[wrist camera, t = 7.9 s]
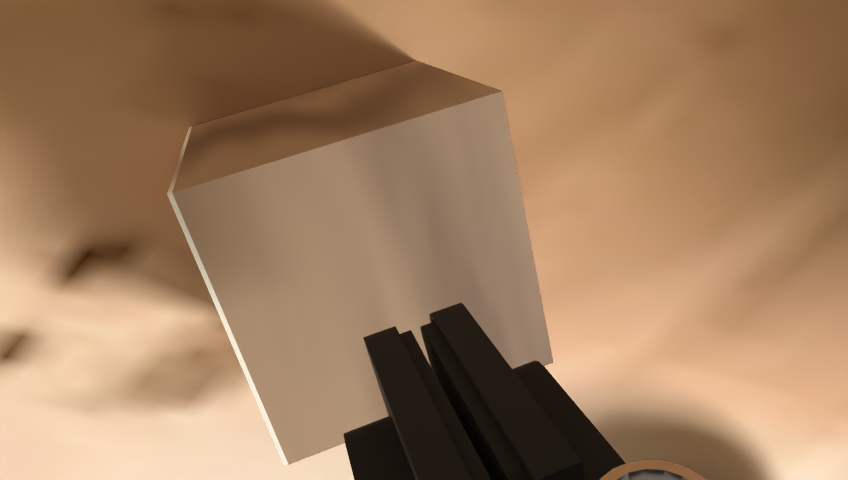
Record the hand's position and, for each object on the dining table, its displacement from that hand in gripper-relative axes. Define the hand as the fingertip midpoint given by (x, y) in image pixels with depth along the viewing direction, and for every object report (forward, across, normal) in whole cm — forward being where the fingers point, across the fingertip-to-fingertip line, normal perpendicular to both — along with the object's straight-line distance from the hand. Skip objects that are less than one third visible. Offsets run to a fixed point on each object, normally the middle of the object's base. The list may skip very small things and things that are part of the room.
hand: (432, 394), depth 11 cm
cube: (+8, -4, 0) cm, 9 cm away
